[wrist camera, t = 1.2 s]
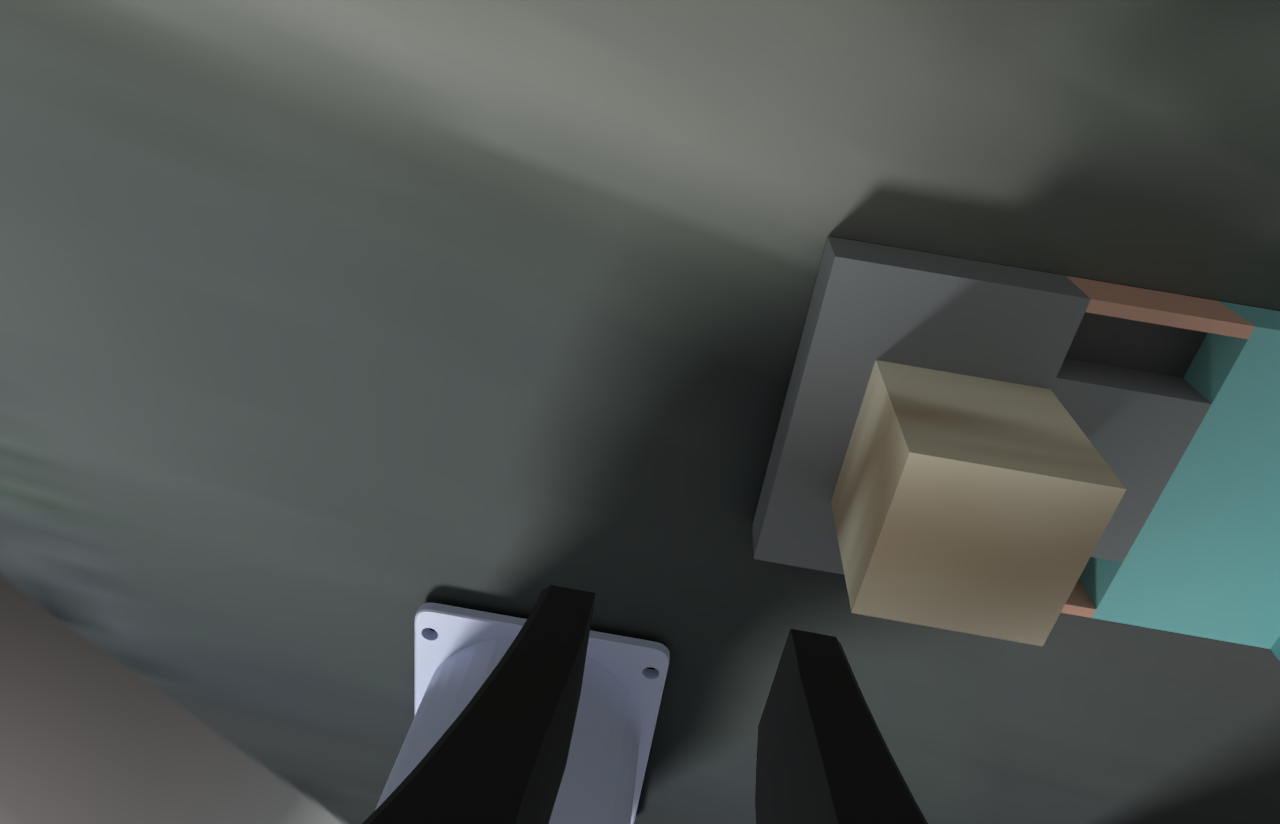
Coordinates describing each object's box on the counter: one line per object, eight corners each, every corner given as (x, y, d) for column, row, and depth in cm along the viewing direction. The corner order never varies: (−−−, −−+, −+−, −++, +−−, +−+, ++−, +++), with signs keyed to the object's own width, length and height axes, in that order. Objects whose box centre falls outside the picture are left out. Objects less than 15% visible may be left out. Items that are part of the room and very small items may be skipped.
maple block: (988, 529, 20) (1043, 646, 17) (830, 501, 20) (851, 613, 17) (1050, 389, 18) (1126, 489, 15) (875, 359, 18) (909, 452, 15)
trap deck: (752, 525, 23) (756, 626, 19) (827, 236, 19) (849, 298, 15) (1260, 612, 22) (1358, 731, 19) (1451, 339, 18) (1621, 427, 15)
